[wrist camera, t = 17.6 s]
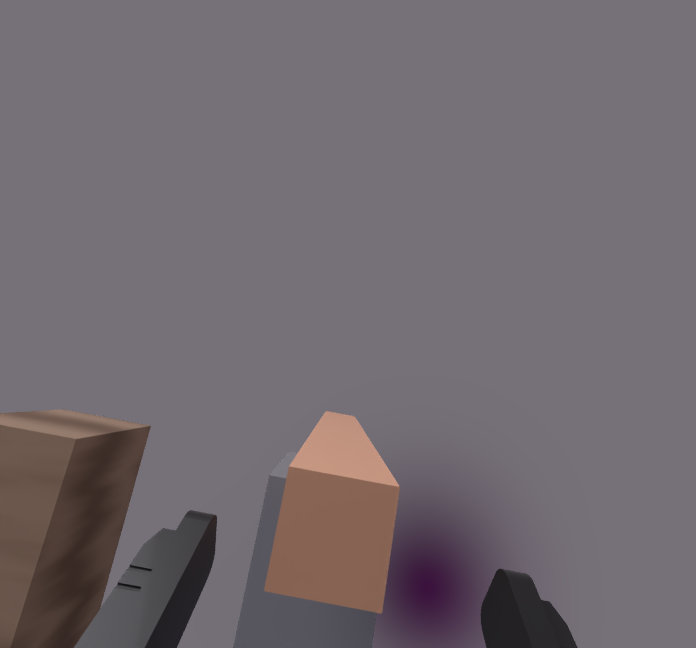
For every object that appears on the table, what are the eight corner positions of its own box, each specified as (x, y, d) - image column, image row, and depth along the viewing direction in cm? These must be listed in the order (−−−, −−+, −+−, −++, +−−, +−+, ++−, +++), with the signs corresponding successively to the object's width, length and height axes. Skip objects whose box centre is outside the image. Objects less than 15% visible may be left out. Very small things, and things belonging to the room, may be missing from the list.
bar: (381, 613, 9) (399, 487, 9) (263, 591, 9) (289, 466, 9) (349, 446, 36) (354, 416, 37) (320, 440, 36) (326, 411, 37)
